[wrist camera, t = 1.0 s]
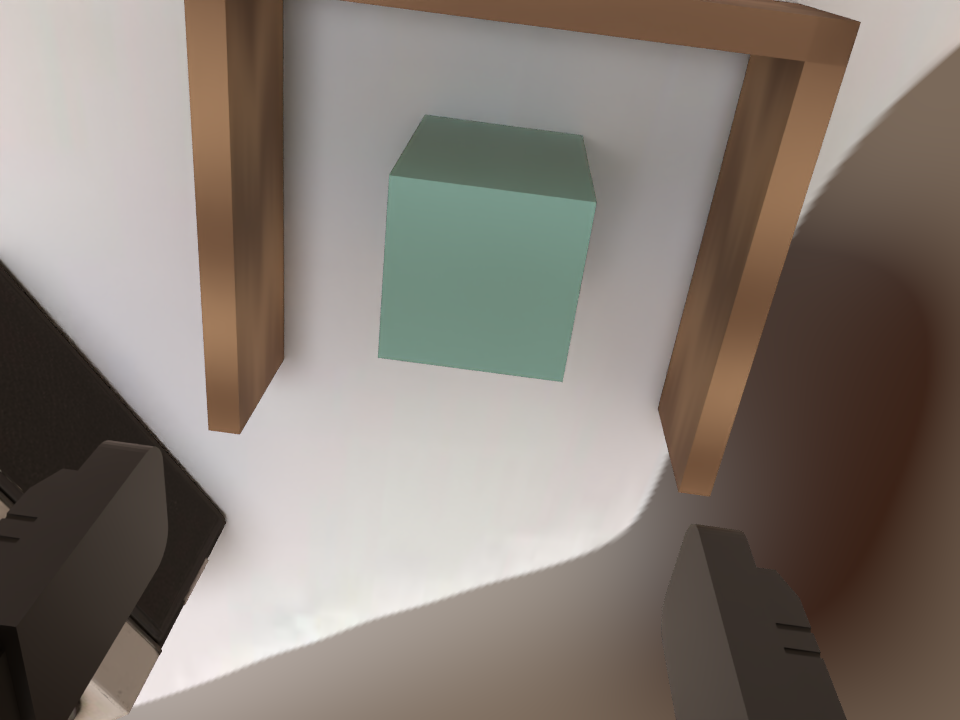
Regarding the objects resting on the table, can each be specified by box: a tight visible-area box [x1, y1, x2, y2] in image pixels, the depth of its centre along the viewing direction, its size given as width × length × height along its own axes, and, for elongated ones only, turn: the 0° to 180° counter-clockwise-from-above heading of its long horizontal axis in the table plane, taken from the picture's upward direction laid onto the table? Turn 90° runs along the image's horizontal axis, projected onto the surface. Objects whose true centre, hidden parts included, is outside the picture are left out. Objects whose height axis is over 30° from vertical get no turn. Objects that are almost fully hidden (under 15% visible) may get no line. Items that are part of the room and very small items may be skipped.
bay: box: [184, 0, 861, 496], centre depth 24 cm, size 14×16×5 cm
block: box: [378, 115, 597, 382], centre depth 23 cm, size 5×5×7 cm
